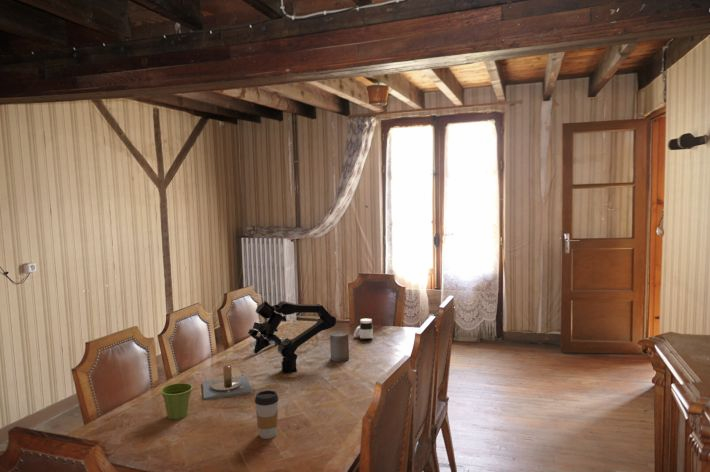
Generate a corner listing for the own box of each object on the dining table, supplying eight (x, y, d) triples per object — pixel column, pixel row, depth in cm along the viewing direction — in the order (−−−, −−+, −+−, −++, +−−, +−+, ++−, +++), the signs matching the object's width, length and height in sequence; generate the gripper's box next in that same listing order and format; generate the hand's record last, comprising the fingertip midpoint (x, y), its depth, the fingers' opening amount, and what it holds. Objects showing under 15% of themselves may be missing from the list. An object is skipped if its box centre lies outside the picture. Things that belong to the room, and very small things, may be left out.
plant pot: (175, 425, 184) (173, 396, 183) (155, 418, 190) (153, 390, 189) (200, 413, 194) (199, 386, 193) (180, 407, 200) (179, 380, 199)
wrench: (284, 347, 287) (251, 356, 260) (281, 346, 288) (248, 356, 261) (284, 333, 287) (252, 341, 261) (282, 333, 288) (249, 341, 261)
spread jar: (373, 341, 285) (372, 321, 284) (353, 341, 286) (353, 322, 285) (372, 335, 297) (372, 316, 296) (354, 335, 298) (353, 317, 297)
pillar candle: (350, 356, 260) (349, 328, 259) (347, 362, 250) (347, 333, 249) (332, 356, 261) (331, 328, 260) (329, 362, 251) (328, 333, 250)
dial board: (246, 377, 231) (246, 374, 231) (251, 393, 213) (251, 389, 212) (202, 383, 225) (202, 380, 225) (203, 400, 206) (203, 396, 206)
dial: (209, 383, 222) (208, 361, 221) (238, 378, 227) (237, 356, 226) (213, 393, 210) (212, 370, 209) (243, 387, 215) (242, 365, 215)
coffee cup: (257, 429, 179) (256, 390, 178) (280, 428, 180) (279, 389, 178) (254, 441, 171) (253, 399, 169) (278, 439, 171) (277, 398, 170)
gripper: (250, 312, 235) (232, 340, 227) (275, 318, 223) (257, 347, 215) (263, 324, 241) (246, 352, 234) (289, 331, 229) (271, 360, 222)
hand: (254, 352), depth 226 cm, fingers closed
